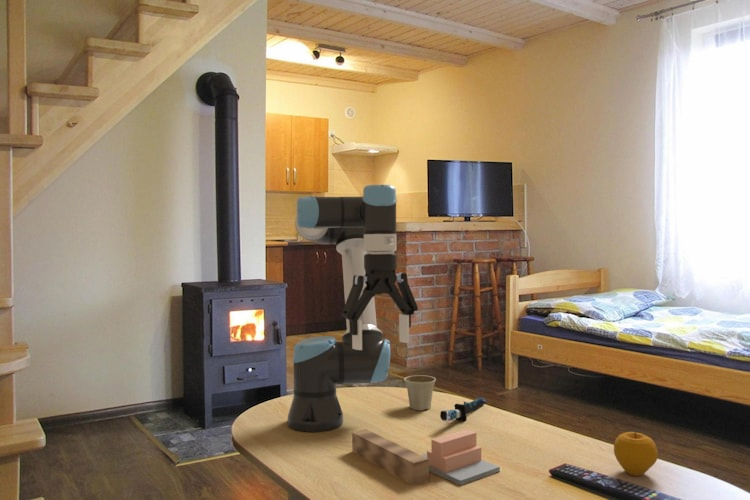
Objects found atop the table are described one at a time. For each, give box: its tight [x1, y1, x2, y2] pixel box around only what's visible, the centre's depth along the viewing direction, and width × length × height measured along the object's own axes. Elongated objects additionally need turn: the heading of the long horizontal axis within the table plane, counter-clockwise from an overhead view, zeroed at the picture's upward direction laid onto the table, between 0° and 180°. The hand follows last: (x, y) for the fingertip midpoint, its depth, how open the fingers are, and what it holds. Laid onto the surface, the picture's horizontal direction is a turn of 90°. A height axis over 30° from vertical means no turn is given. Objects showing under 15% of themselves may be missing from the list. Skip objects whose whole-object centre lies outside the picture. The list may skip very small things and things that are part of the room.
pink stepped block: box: [420, 429, 501, 486], centre depth 141 cm, size 16×12×7 cm
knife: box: [439, 397, 487, 423], centre depth 177 cm, size 31×3×4 cm, turn 145°
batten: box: [351, 428, 430, 486], centre depth 142 cm, size 24×4×5 cm, turn 34°
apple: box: [613, 431, 659, 477], centre depth 136 cm, size 9×9×9 cm
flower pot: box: [403, 374, 437, 411], centre depth 186 cm, size 9×9×9 cm
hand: (381, 345), depth 144 cm, fingers open, 13 cm apart
